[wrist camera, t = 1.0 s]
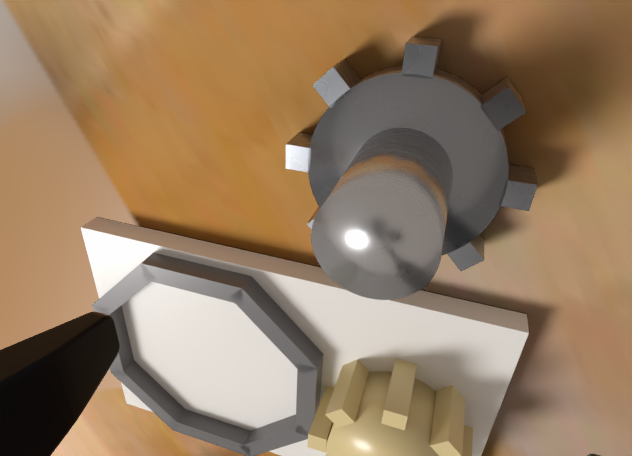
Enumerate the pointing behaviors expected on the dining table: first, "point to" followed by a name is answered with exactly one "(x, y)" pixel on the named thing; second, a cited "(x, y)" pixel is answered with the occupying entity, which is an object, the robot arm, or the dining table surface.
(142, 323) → the plate
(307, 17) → the dining table surface
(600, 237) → the dining table surface
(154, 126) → the dining table surface
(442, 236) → the planet gear
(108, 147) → the dining table surface
